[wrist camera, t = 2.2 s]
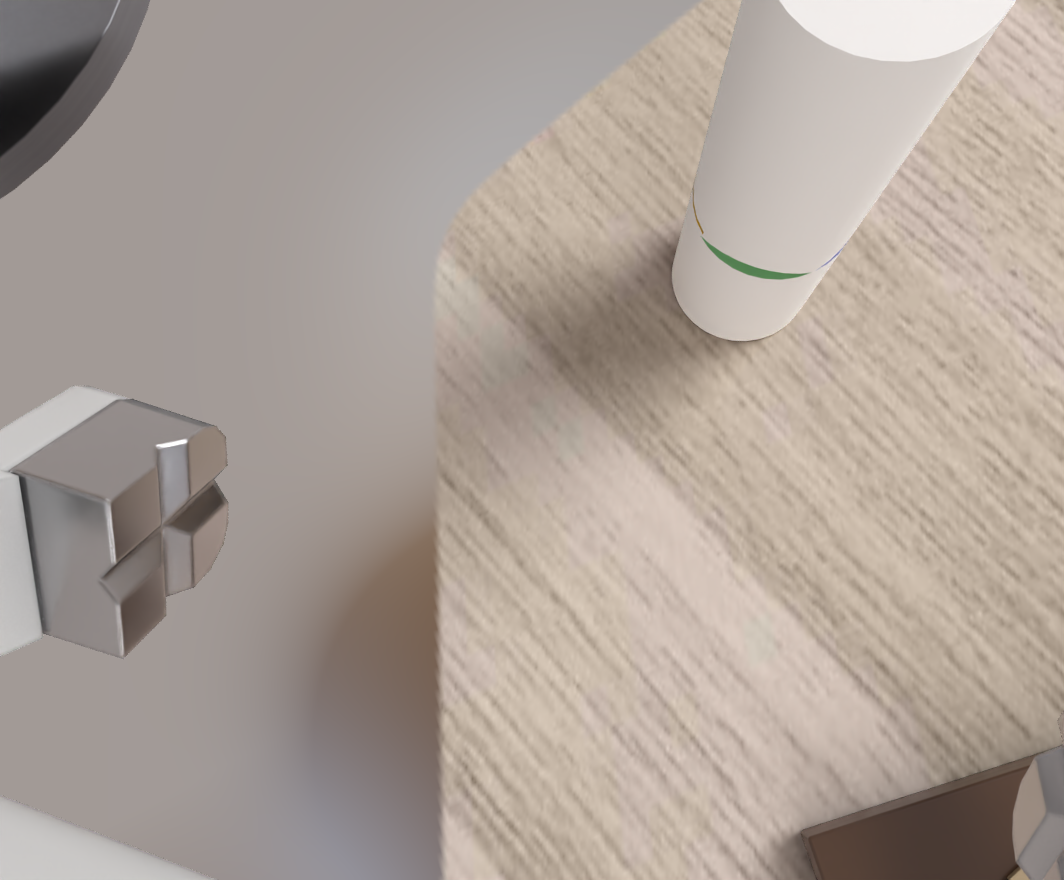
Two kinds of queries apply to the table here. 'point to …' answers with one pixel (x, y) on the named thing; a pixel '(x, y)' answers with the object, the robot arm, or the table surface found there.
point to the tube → (810, 144)
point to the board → (927, 833)
